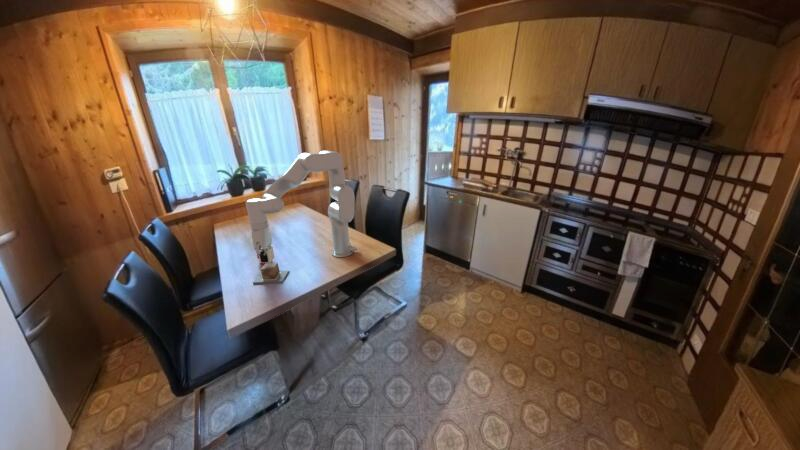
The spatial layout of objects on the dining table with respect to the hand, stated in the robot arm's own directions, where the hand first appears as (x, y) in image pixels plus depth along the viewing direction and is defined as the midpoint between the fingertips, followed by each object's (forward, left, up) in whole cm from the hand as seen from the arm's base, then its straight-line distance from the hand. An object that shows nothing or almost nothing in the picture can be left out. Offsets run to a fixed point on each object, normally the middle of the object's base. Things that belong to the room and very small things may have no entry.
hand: (267, 258), depth 130 cm
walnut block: (0, 0, -10) cm, 10 cm away
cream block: (0, 0, -1) cm, 1 cm away
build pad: (0, 0, -11) cm, 11 cm away
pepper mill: (+10, -17, -11) cm, 23 cm away
